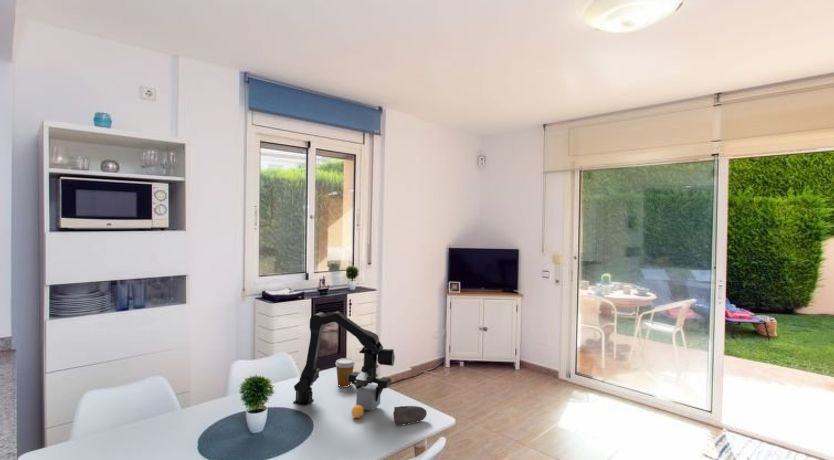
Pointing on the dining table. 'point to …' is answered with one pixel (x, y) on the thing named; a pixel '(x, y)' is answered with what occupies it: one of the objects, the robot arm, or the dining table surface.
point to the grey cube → (367, 397)
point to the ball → (357, 411)
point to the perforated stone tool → (408, 414)
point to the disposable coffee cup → (344, 370)
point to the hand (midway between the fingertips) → (368, 399)
